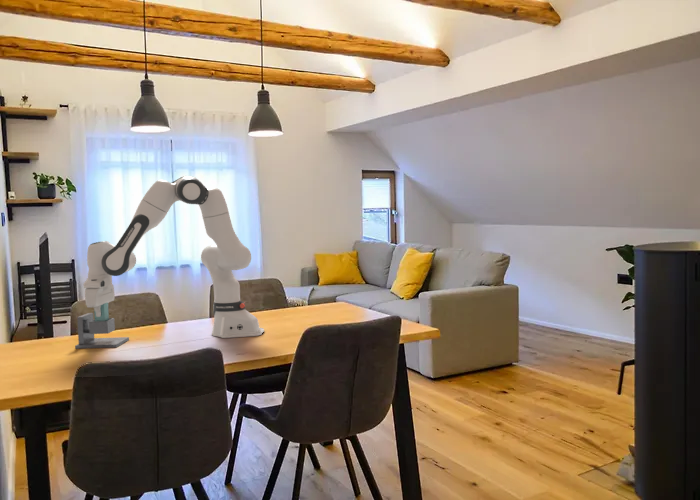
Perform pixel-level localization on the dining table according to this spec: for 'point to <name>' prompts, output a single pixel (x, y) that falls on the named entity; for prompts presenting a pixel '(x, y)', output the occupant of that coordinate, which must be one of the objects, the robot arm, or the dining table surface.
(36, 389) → the dining table surface
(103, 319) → the teal rectangular block
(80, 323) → the cup bracket
